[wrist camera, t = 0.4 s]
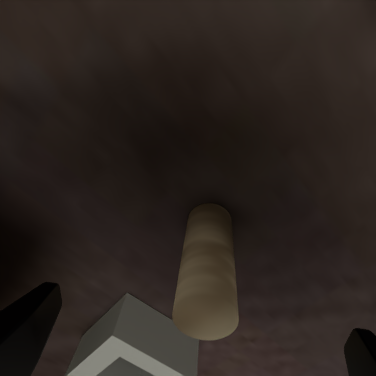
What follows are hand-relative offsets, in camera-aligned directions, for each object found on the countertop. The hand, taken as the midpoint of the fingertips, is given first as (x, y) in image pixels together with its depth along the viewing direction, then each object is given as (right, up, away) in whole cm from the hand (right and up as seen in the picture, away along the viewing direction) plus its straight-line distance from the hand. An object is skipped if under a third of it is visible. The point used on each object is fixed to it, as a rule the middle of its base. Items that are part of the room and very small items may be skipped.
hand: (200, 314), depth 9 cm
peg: (+1, +1, +14) cm, 15 cm away
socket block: (-6, -12, +22) cm, 25 cm away
